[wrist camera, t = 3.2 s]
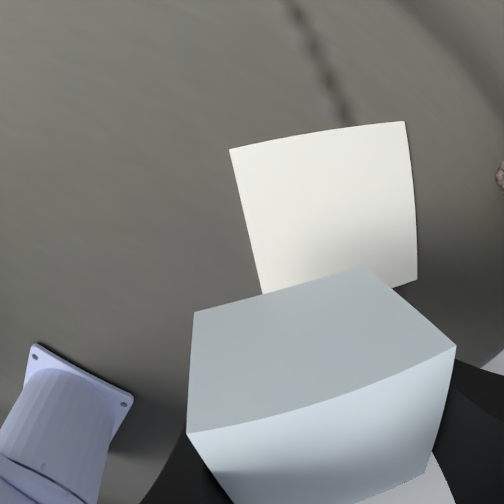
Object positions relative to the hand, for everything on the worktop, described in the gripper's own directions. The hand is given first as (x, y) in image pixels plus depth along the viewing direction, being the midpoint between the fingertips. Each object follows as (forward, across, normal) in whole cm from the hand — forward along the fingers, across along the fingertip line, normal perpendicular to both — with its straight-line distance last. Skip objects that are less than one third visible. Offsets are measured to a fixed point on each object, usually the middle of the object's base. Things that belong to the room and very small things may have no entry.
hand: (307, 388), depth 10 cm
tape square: (+8, -5, -3) cm, 10 cm away
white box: (+2, 0, 0) cm, 2 cm away
